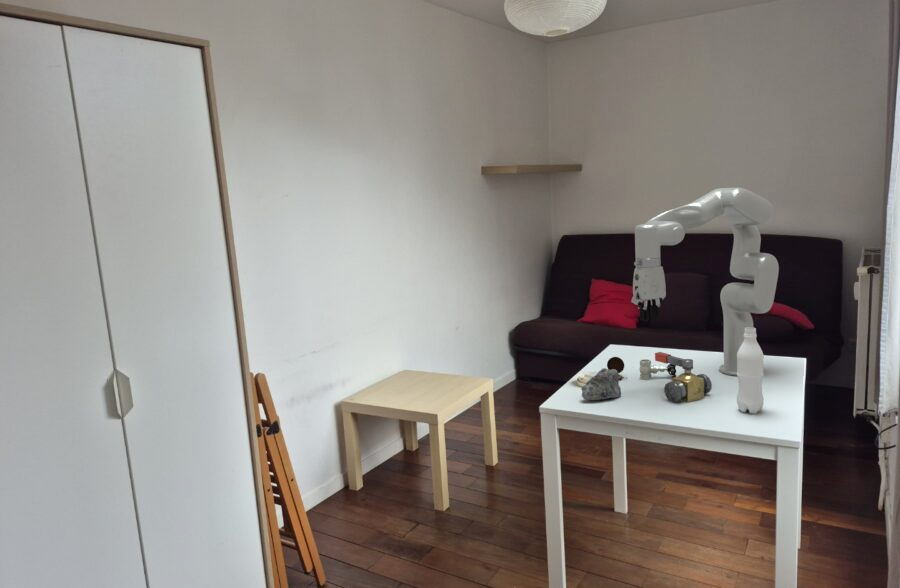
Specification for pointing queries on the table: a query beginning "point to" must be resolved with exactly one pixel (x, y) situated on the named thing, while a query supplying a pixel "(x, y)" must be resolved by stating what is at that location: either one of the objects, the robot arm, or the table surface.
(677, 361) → the valve lever
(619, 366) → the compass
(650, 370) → the valve
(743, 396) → the water bottle
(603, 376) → the mineral rock
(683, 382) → the pipe valve
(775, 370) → the table surface
